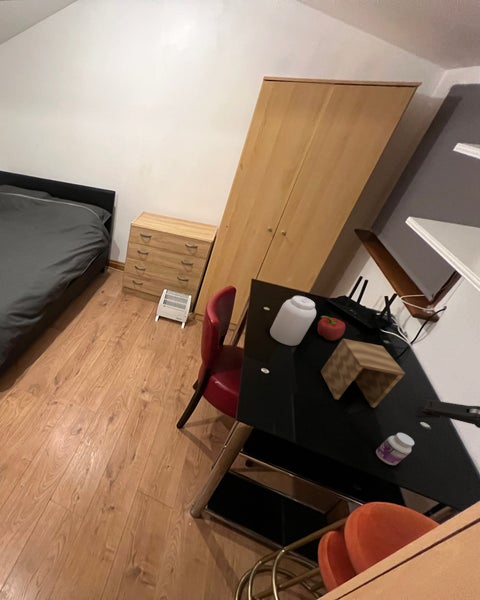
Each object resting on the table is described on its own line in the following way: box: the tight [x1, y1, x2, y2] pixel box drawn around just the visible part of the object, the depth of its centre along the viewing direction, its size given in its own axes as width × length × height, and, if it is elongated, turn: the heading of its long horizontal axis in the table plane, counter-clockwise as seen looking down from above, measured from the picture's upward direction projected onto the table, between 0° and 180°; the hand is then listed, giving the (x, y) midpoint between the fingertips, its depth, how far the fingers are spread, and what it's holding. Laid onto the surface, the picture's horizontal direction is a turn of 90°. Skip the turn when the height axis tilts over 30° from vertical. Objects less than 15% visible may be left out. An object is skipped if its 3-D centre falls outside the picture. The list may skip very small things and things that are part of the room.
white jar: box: [269, 295, 317, 347], centre depth 139 cm, size 12×12×20 cm
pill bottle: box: [375, 432, 415, 466], centre depth 95 cm, size 5×5×10 cm
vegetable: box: [317, 315, 346, 342], centre depth 145 cm, size 11×10×10 cm
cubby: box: [320, 338, 406, 409], centre depth 116 cm, size 14×13×17 cm
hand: (450, 426), depth 81 cm, fingers open, 13 cm apart
